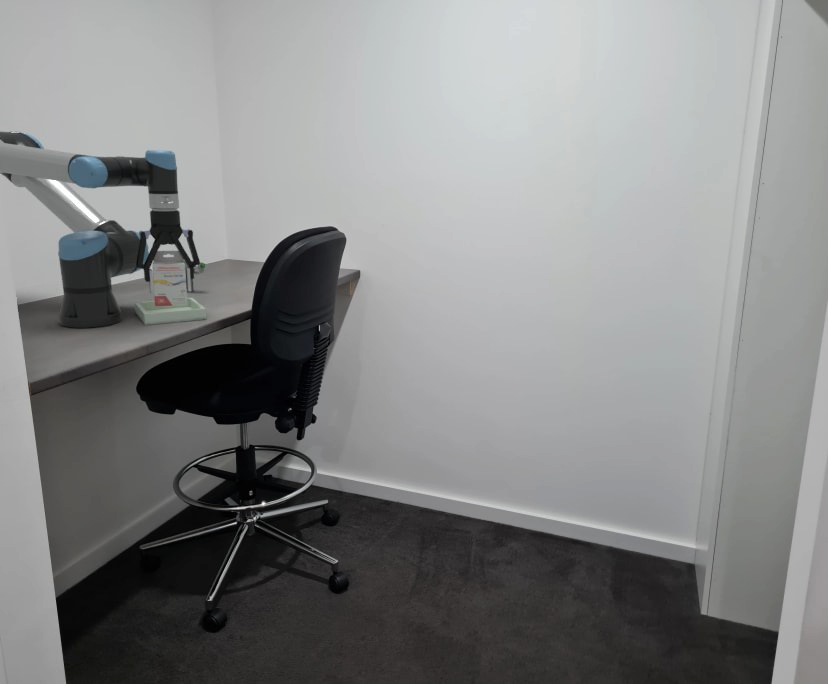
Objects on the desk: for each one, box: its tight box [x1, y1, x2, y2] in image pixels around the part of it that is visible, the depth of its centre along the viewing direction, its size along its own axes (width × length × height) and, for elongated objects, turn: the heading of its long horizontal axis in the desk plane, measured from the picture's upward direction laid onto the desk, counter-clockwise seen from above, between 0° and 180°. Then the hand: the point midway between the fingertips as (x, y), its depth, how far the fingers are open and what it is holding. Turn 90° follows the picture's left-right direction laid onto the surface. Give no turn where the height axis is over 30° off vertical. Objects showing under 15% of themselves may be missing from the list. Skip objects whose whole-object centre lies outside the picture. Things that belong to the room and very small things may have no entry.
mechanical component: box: [184, 260, 206, 293], centre depth 219 cm, size 3×10×10 cm, turn 78°
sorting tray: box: [134, 297, 207, 326], centre depth 187 cm, size 16×16×3 cm
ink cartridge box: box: [152, 250, 188, 306], centre depth 185 cm, size 9×5×15 cm, turn 109°
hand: (170, 291), depth 186 cm, fingers closed on ink cartridge box, 9 cm apart
